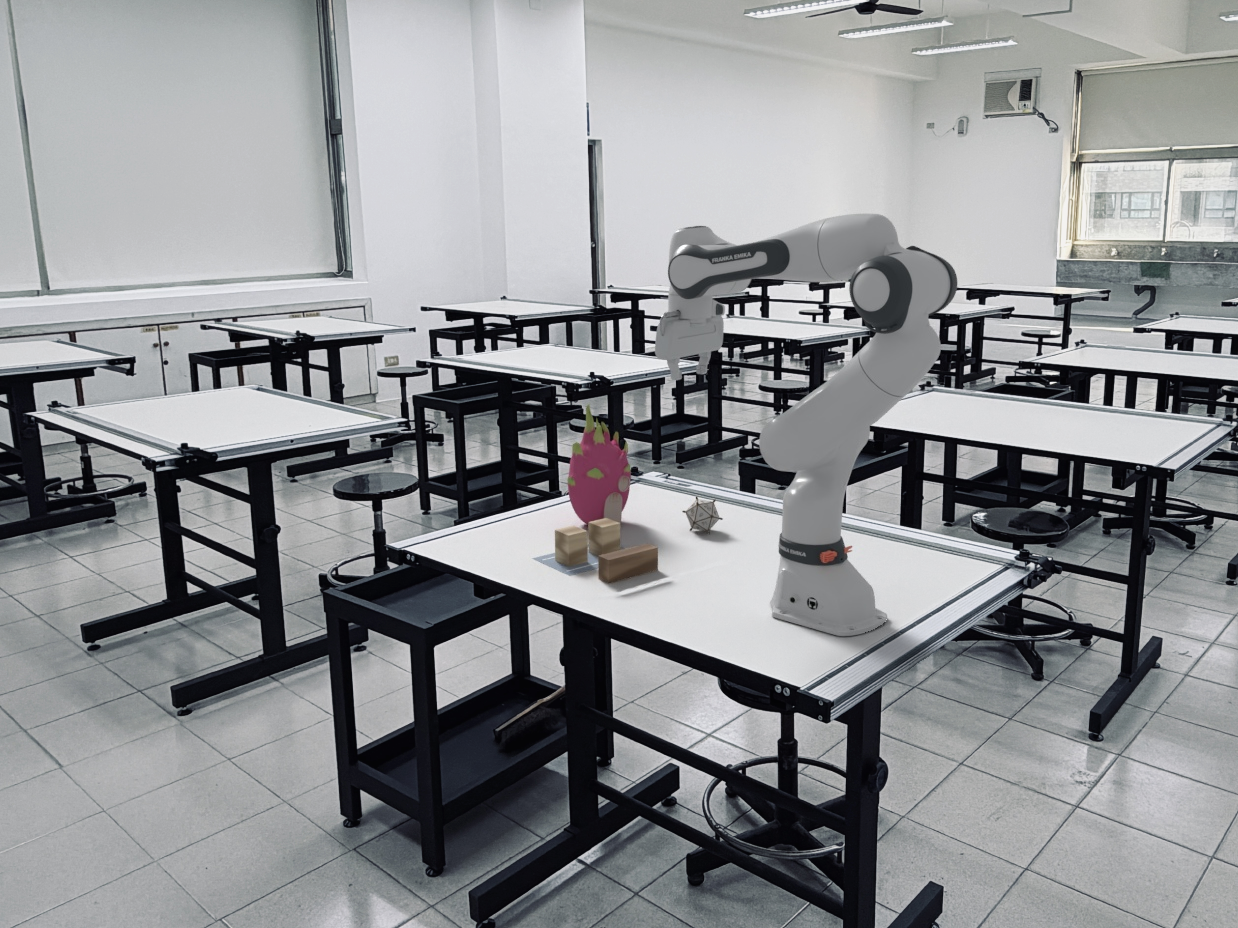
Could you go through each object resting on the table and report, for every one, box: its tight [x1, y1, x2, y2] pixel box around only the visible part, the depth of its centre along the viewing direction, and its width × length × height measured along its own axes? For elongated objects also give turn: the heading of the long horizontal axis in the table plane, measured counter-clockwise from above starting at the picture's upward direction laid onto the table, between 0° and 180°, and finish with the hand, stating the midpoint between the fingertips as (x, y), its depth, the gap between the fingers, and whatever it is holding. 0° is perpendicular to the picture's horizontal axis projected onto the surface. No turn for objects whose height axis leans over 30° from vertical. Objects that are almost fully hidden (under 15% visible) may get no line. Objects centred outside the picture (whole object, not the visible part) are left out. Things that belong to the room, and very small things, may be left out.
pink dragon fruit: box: [567, 403, 632, 526], centre depth 244 cm, size 18×14×30 cm
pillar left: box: [554, 525, 589, 567], centre depth 220 cm, size 5×5×7 cm
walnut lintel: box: [597, 542, 659, 585], centre depth 212 cm, size 4×13×6 cm, turn 128°
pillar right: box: [587, 518, 621, 556], centre depth 225 cm, size 5×5×7 cm
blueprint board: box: [531, 543, 626, 577], centre depth 224 cm, size 14×20×1 cm
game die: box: [681, 495, 723, 535], centre depth 243 cm, size 9×8×10 cm
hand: (689, 376), depth 210 cm, fingers open, 8 cm apart
